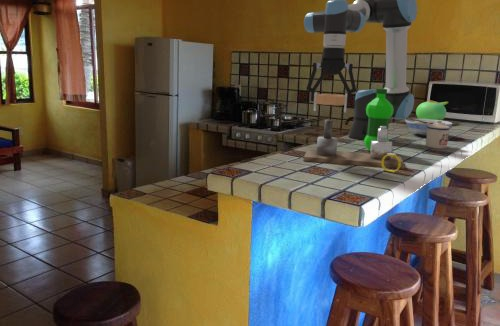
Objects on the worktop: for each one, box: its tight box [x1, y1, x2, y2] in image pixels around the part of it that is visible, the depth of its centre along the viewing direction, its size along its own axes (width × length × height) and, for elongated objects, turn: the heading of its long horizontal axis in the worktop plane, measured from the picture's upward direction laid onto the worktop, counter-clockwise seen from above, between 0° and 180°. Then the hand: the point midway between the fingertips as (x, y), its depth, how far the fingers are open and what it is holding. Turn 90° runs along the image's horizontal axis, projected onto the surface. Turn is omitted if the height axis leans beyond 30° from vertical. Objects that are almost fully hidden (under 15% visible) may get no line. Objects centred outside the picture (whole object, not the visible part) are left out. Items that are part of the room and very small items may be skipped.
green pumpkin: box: [415, 99, 449, 121], centre depth 279 cm, size 18×17×15 cm
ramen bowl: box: [404, 117, 453, 137], centre depth 224 cm, size 25×23×8 cm
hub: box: [369, 126, 393, 160], centre depth 154 cm, size 7×7×12 cm
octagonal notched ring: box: [316, 93, 345, 106], centre depth 155 cm, size 10×10×3 cm
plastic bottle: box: [363, 88, 394, 152], centre depth 174 cm, size 10×10×25 cm
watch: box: [381, 152, 401, 173], centre depth 142 cm, size 6×3×6 cm, turn 55°
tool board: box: [303, 119, 405, 170], centre depth 156 cm, size 34×16×14 cm, turn 77°
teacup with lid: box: [425, 120, 451, 150], centre depth 191 cm, size 12×9×12 cm
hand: (329, 111), depth 156 cm, fingers closed on octagonal notched ring, 10 cm apart
